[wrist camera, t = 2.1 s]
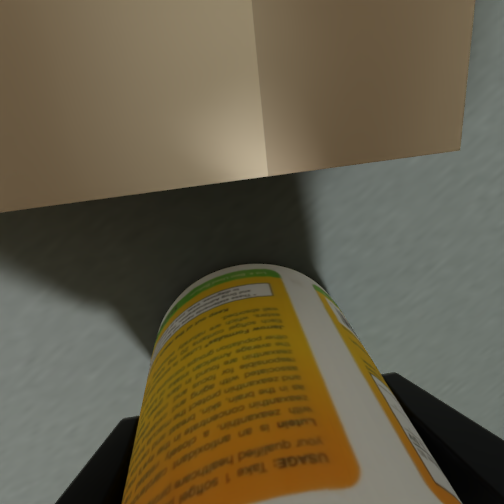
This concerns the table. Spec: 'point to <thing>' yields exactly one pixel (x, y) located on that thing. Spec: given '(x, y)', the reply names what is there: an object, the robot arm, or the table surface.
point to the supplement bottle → (271, 404)
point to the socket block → (220, 91)
